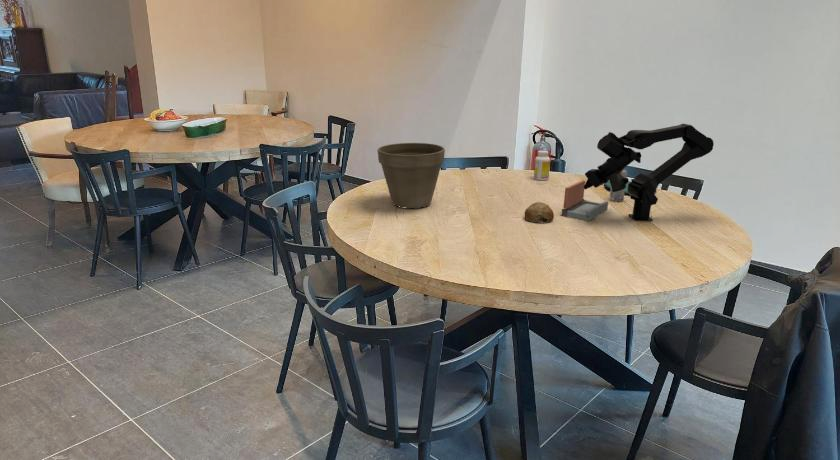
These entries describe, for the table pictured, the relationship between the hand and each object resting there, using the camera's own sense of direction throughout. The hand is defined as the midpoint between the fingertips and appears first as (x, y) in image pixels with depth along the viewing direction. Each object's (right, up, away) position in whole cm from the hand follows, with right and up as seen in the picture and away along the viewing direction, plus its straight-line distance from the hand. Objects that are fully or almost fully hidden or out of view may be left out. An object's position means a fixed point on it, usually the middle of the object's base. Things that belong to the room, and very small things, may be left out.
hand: (584, 188), depth 201 cm
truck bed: (+2, -9, +3) cm, 9 cm away
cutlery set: (+28, +3, +40) cm, 49 cm away
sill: (-3, -8, +6) cm, 10 cm away
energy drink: (+19, -3, +20) cm, 28 cm away
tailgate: (-3, -6, +6) cm, 8 cm away
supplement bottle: (-4, +8, +53) cm, 53 cm away
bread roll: (-18, -12, -4) cm, 22 cm away
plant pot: (-63, -5, +12) cm, 65 cm away
